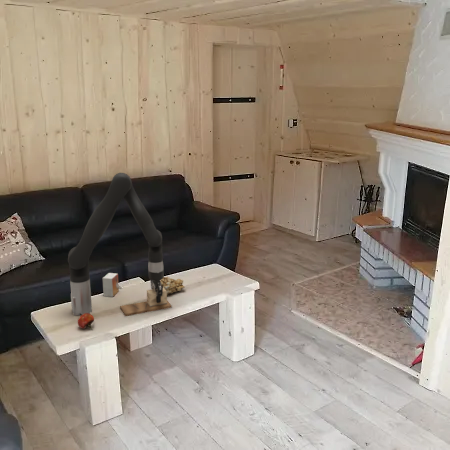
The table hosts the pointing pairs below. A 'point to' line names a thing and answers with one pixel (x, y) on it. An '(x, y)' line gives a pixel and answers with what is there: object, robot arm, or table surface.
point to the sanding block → (152, 297)
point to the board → (142, 308)
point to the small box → (110, 284)
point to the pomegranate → (85, 320)
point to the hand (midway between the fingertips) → (156, 300)
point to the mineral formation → (172, 285)
